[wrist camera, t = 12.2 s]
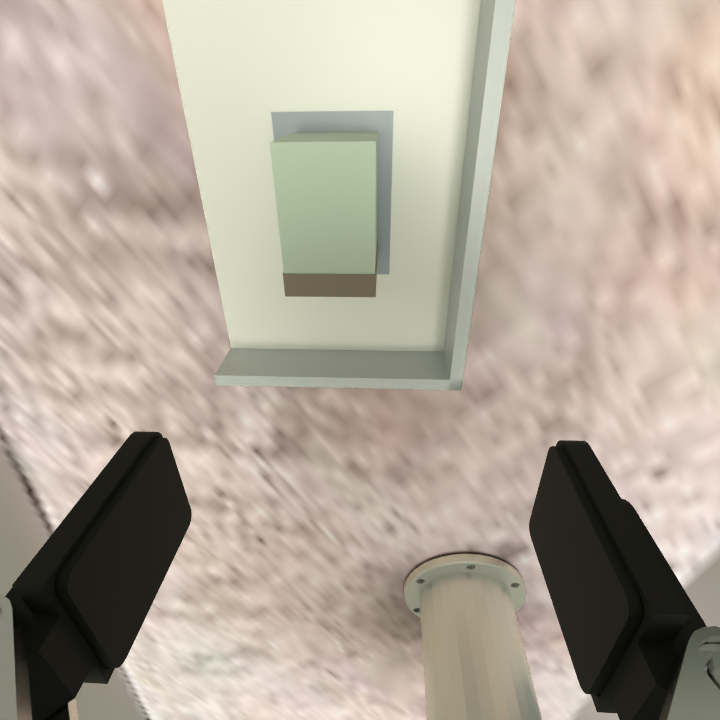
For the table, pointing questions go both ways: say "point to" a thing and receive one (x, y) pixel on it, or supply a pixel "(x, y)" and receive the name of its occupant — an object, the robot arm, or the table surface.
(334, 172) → the block
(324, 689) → the table surface
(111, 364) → the table surface
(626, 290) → the table surface
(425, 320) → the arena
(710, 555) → the table surface
